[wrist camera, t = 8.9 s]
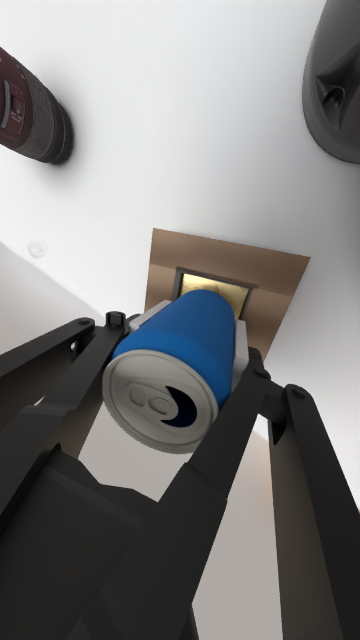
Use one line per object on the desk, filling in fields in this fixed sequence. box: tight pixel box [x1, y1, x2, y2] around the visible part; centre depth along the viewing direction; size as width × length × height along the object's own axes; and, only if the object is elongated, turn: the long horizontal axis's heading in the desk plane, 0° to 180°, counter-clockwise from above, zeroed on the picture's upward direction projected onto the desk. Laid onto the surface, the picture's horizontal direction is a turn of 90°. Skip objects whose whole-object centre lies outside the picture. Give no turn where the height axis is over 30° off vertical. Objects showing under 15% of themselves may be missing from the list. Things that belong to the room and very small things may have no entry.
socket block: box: [144, 228, 311, 362], centre depth 23 cm, size 15×15×6 cm
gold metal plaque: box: [180, 274, 249, 323], centre depth 21 cm, size 7×7×1 cm
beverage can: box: [102, 289, 235, 454], centre depth 13 cm, size 6×6×12 cm
